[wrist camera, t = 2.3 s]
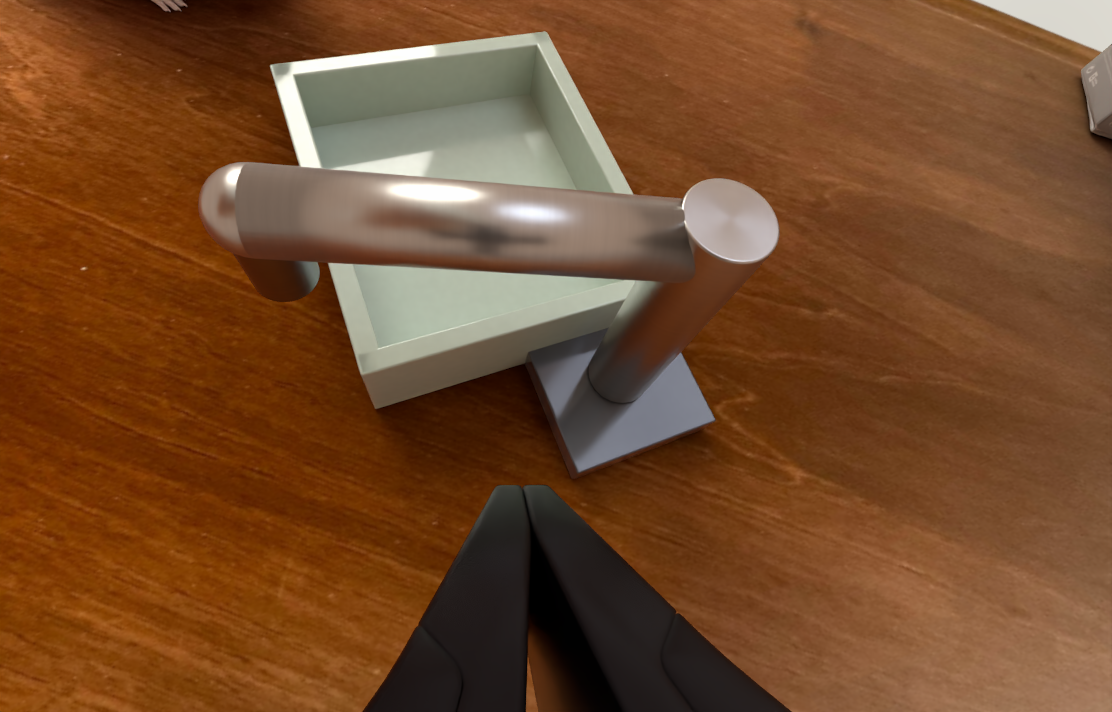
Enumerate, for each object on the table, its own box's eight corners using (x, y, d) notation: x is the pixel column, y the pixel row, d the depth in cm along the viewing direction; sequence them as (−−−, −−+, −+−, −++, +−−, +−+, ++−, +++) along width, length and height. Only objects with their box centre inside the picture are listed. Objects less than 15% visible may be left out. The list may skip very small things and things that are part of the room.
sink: (704, 429, 23) (745, 401, 19) (414, 541, 19) (405, 529, 16) (536, 93, 29) (546, 30, 25) (292, 131, 25) (268, 63, 22)
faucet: (644, 347, 22) (769, 181, 13) (651, 403, 21) (789, 266, 12) (309, 334, 20) (195, 128, 11) (299, 397, 19) (166, 225, 10)
